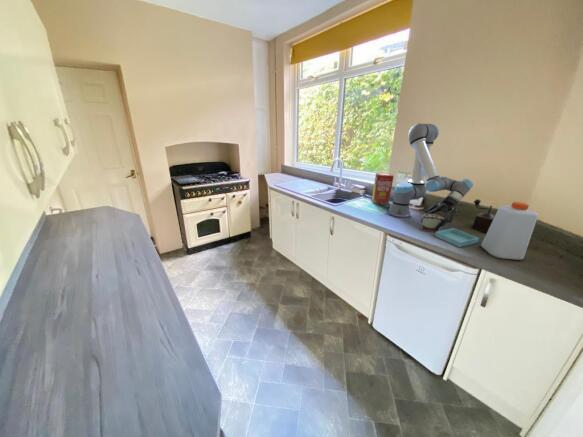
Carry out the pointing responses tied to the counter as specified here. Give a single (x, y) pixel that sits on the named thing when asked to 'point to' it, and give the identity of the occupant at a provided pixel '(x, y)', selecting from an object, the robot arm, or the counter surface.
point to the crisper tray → (456, 237)
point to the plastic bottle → (510, 231)
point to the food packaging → (382, 188)
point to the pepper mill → (482, 218)
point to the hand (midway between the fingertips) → (429, 225)
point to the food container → (431, 222)
